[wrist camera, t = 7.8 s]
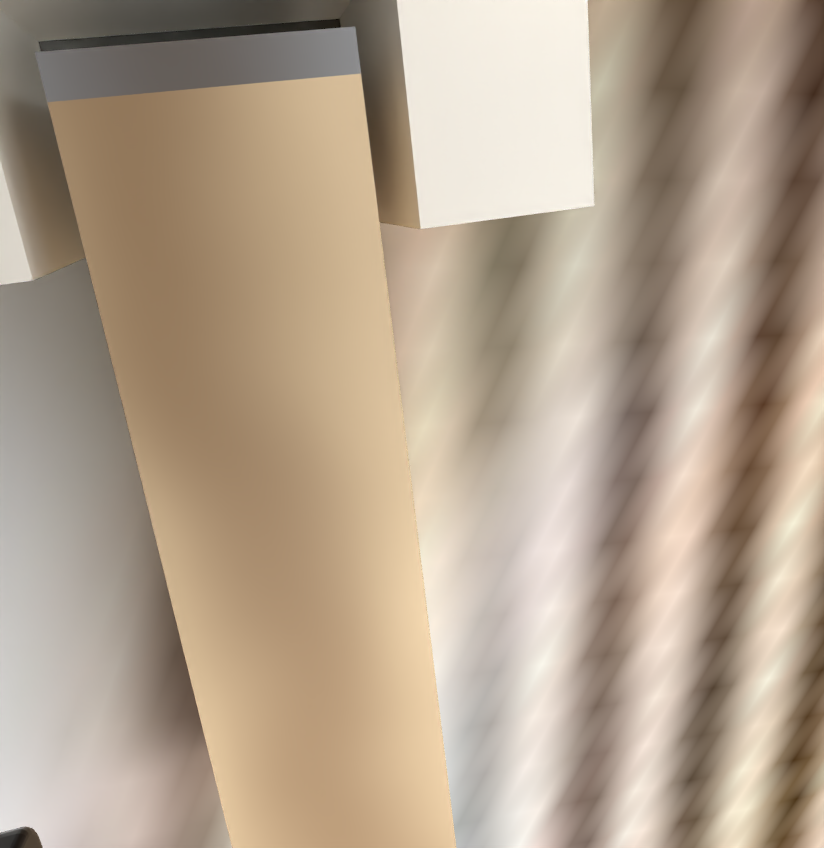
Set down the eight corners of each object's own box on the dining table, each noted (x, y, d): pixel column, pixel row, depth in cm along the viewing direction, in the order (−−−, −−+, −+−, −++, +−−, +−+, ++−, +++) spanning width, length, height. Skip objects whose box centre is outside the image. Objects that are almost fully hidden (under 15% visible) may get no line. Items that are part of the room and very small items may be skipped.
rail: (311, 82, 15) (355, 26, 10) (399, 701, 20) (459, 869, 15) (101, 102, 15) (34, 51, 10) (245, 740, 20) (253, 932, 14)
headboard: (851, -100, 17) (1406, -361, 9) (834, 159, 19) (1287, 132, 11) (-169, -47, 13) (-790, -431, 5) (-68, 275, 15) (-410, 368, 7)
